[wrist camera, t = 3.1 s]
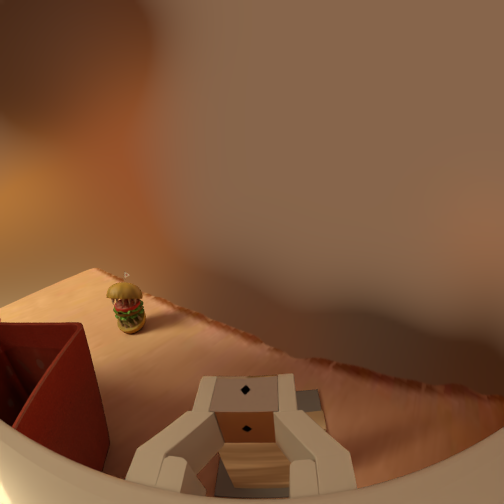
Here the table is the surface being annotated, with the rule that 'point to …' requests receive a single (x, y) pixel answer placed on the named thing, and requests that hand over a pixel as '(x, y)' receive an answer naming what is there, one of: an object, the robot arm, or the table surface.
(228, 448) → the picture frame
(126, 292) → the hamburger
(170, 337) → the table surface
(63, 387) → the plant pot
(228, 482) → the mat
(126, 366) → the table surface
